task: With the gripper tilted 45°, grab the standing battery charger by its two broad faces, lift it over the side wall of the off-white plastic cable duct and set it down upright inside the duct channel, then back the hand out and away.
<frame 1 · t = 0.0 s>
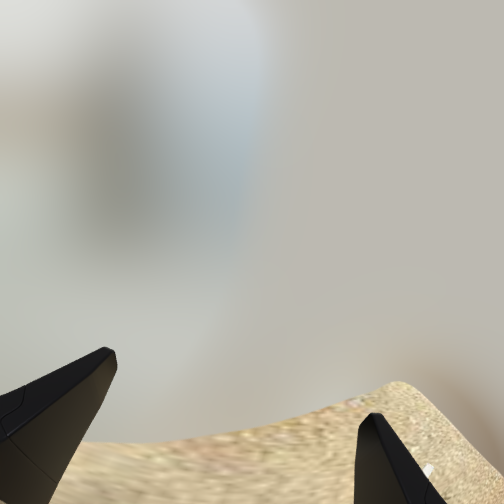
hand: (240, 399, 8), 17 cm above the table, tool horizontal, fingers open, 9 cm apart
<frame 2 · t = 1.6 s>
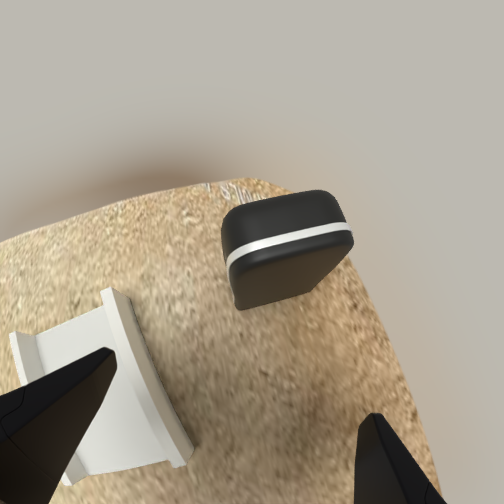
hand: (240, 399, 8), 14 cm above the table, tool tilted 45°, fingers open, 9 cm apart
battery charger: (268, 281, 24), on the table
cable duct: (100, 394, 20), on the table
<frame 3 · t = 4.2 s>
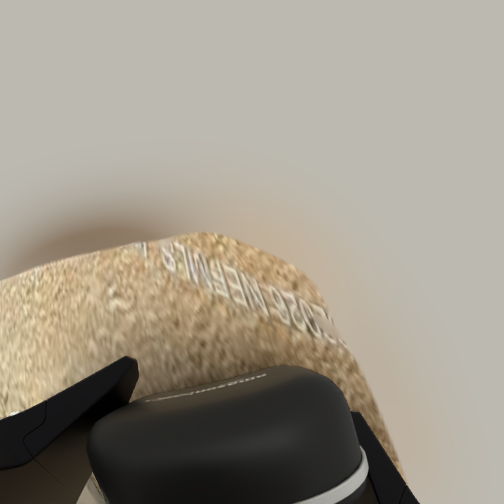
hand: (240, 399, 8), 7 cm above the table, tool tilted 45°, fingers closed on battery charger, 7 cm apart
battery charger: (232, 402, 15), on the table, touching gripper
cable duct: (47, 497, 10), on the table
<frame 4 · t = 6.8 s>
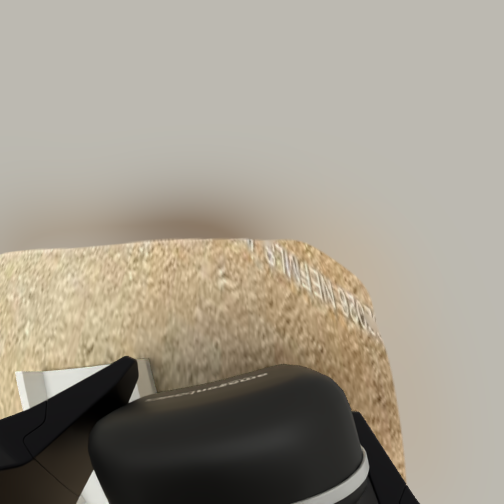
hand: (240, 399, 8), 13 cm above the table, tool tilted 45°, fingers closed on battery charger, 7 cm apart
battery charger: (232, 401, 15), point 6 cm above the table, touching gripper
cable duct: (108, 442, 18), on the table
when the fingers open (9 cm above the table, at t = 9.4 s): battery charger drops 1 cm, resting on cable duct.
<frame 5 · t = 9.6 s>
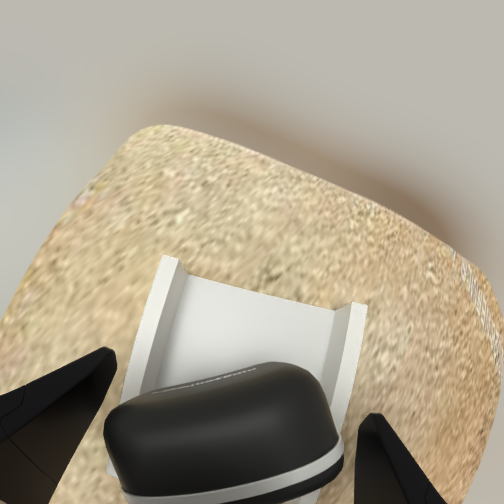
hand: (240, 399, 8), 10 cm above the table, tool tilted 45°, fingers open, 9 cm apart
battery charger: (227, 399, 16), point 1 cm above the table, touching cable duct
cable duct: (235, 396, 17), on the table
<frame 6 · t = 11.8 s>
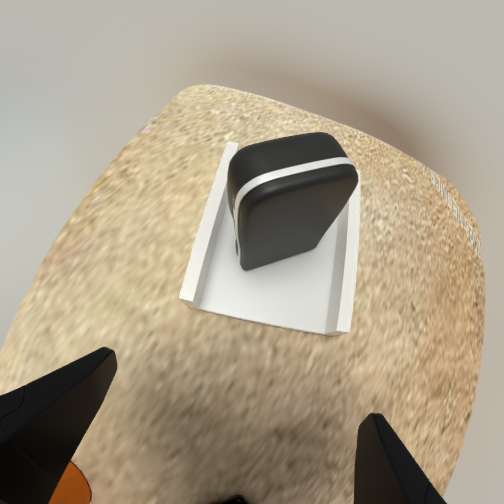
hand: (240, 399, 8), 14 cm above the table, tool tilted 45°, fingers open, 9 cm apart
spray bottle: (61, 465, 16), on the table
battery charger: (272, 241, 24), point 1 cm above the table, touching cable duct
cable duct: (276, 244, 25), on the table
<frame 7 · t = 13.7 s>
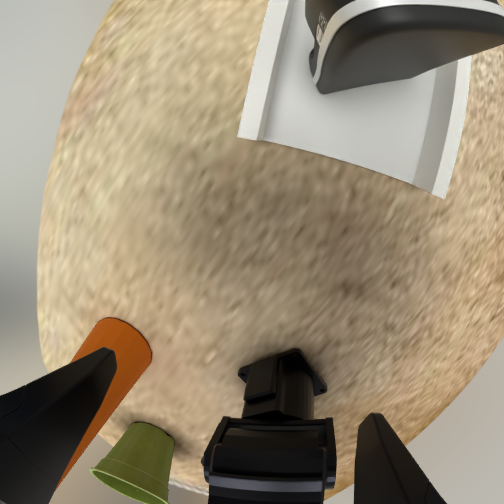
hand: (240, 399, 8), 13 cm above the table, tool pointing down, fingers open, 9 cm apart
spray bottle: (120, 329, 26), on the table
plant pot: (153, 433, 35), on the table
battery charger: (357, 59, 14), point 1 cm above the table, touching cable duct
cable duct: (361, 62, 14), on the table
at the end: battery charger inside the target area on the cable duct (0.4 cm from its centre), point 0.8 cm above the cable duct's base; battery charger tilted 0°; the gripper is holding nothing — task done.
